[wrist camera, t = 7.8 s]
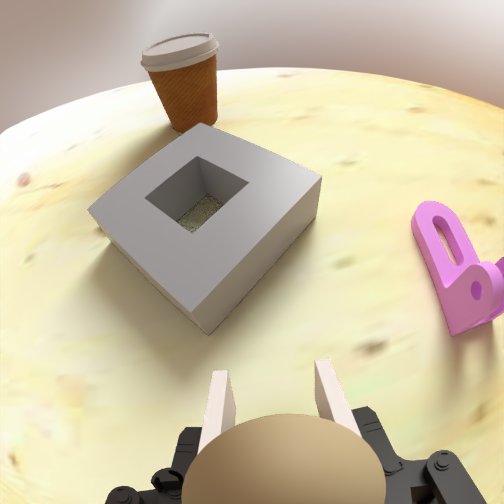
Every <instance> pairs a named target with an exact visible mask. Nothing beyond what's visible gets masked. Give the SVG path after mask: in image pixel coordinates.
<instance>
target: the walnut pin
mask: <svg viewBox="0 0 504 504" xmlns="http://www.w3.org/2000/svg"><path fill="white" fill-rule="evenodd" d="M385 497H386V481H385V474H384V471H383V468H382V465H381V463H380V461H379V459H378V457H377V455H376V453H375V452H374V451H373V449H372V448H371V447H370V445H369V444H368V443H367V442H365V441H364V440H363V439H362V438H361V437H360V436H359V435H357V434H356V433H355V432H353V431H352V430H350V429H348V428H346V427H344V426H343V425H341V424H338V423H336V422H333V421H331V420H327V419H323V418H320V417H315V416H309V415H300V414H278V415H271V416H264V417H261V418H257V419H253V420H250V421H247V422H244V423H242V424H239V425H236V426H234V427H232V428H230V429H229V430H227V431H225V432H223V433H222V434H220V435H219V436H217V437H216V438H214V439H213V440H212V441H211V442H209V443H208V444H207V445H206V446H205V447H204V448H203V449H202V450H201V451H200V452H199V454H198V455H197V456H196V457H195V459H194V460H193V462H192V463H191V465H190V467H189V469H188V471H187V473H186V475H185V479H184V482H183V486H182V495H181V498H182V504H384V502H385Z"/></svg>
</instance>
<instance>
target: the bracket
mask: <svg viewBox="0 0 504 504" xmlns="http://www.w3.org/2000/svg"><path fill="white" fill-rule="evenodd" d="M433 223H434V224H437V225H438V226H439V227H440V228H441V229H442V231H443V233H444V235H445V237H446V239H447V241H448V243H449V246H450V248H451V250H452V252H453V254H454V257H455V259H456V261H457V264H458V265H455V264H453V263H452V262H451V260H450V259H449V257H448V254H447V252H446V250H445V248H444V245H443V243H442V241H441V239H440V237H439V235H438V233H437V230H436V228H435V226H434V224H433ZM411 227H412V231H413V234H414V236H415V238H416V241H417V243H418V245H419V247H420V250H421V252H422V255H423V257H424V259H425V262H426V264H427V267H428V269H429V272H430V275H431V277H432V280H433V283H434V285H435V288H436V291H437V294H438V296H439V299H440V302H441V305H442V308H443V311H444V315H445V318H446V321H447V324H448V328H449V331H450V334H451V336H454V335H457V334H459V333H462V332H465V331H467V330H470V329H472V328H475V327H477V326H480V325H482V324H484V323H487V322H489V321H491V320H493V319H495V318H496V317H498V316H499V315H501V314H502V313H504V257H502V258H501V259H500V260H499V261H498V262H497V263H496V264H493V263H492V262H488V261H485V262H481V263H480V261H479V259H478V257H477V255H476V252H475V250H474V248H473V246H472V244H471V242H470V240H469V238H468V236H467V234H466V232H465V230H464V228H463V226H462V224H461V222H460V220H459V219H458V217H457V216H456V214H455V213H454V212H453V211H452V210H451V209H449V208H448V207H447V206H445V205H443V204H441V203H439V202H435V201H425V202H423V203H421V204H420V205H419V206H418V207H417V209H416V211H415V213H414V215H413V217H412V220H411Z"/></svg>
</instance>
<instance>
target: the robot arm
mask: <svg viewBox="0 0 504 504" xmlns="http://www.w3.org/2000/svg"><path fill="white" fill-rule="evenodd" d="M315 401H316V405H317V408H318V412H319V416H320V418H323V419H327V420H331V421H333V422H336V423H338V424H341V425H343V426H344V427H346V428H348V429H350V430H352V431H353V432H355V433H356V434H357V435H359V436H360V437H361V438H362V439H363V440H364V441H365V442H367V443H368V444H369V445H370V447H371V448H372V449H373V451H374V452H375V453H376V455H377V457H378V459H379V461H380V463H381V465H382V468H383V471H384V474H385V481H386V497H385V502H384V504H487V503H486V501H485V500H484V498H483V496H482V495H481V493H480V492H479V490H478V488H477V487H476V485H475V484H474V482H473V480H472V479H471V477H470V476H469V474H468V473H467V471H466V470H465V468H464V467H463V465H462V464H461V462H460V460H459V459H458V457H457V456H456V455H455V454H454V453H453V452H450V451H448V450H440V451H437V452H435V453H433V454H432V455H431V456H430V457H429V459H425V460H415V461H409V460H404V459H402V458H401V457H399V456H397V455H396V453H395V452H394V450H393V448H392V446H391V444H390V442H389V439H388V437H387V435H386V433H385V431H384V429H383V427H382V425H381V423H380V422H379V419H378V417H377V415H376V413H375V412H374V411H373V410H372V409H370V408H369V407H368V406H366V407H362V408H358V409H353V410H351V409H350V406H349V404H348V402H347V399H346V397H345V394H344V392H343V389H342V387H341V385H340V382H339V380H338V377H337V375H336V373H335V370H334V368H333V365H332V363H331V361H330V358H324V359H318V360H315ZM235 415H236V405H235V401H234V396H233V392H232V387H231V382H230V378H229V373H228V370H219V371H213V374H212V379H211V384H210V390H209V395H208V400H207V405H206V411H205V416H204V421H203V427H186V428H185V429H184V430H183V431H182V433H181V434H180V435H179V439H178V443H177V447H176V450H175V451H176V452H175V454H174V458H173V462H172V466H171V468H165V469H161V470H159V471H157V472H156V473H155V474H154V475H153V476H152V479H151V483H152V485H153V486H154V487H155V489H153V490H147V491H138V492H137V491H136V490H135V489H134V488H131V487H129V486H120V487H116V488H115V489H113V490H112V491H111V492H110V493H109V495H108V497H107V500H106V502H105V504H182V498H181V495H182V486H183V482H184V479H185V475H186V473H187V471H188V469H189V467H190V465H191V463H192V462H193V460H194V459H195V457H196V456H197V455H198V454H199V452H200V451H201V450H202V449H203V448H204V447H205V446H206V445H207V444H208V443H209V442H211V441H212V440H213V439H214V438H216V437H217V436H219V435H220V434H222V433H223V432H225V431H227V430H229V429H230V428H232V427H234V426H235Z"/></svg>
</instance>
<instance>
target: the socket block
mask: <svg viewBox="0 0 504 504" xmlns="http://www.w3.org/2000/svg"><path fill="white" fill-rule="evenodd" d="M321 180H322V176H321V175H319V174H317V173H315V172H313V171H311V170H309V169H307V168H305V167H303V166H301V165H299V164H297V163H295V162H293V161H291V160H288V159H286V158H284V157H282V156H280V155H278V154H275V153H273V152H271V151H269V150H267V149H264V148H262V147H260V146H257V145H255V144H253V143H250V142H248V141H246V140H243V139H241V138H238V137H236V136H234V135H231V134H229V133H226V132H224V131H221V130H219V129H216V128H213V127H211V126H208V125H206V124H203V123H199V124H197V125H196V126H194V127H193V128H191V129H190V130H188V131H187V132H185V133H184V134H182V135H181V136H179V137H178V138H176V139H175V140H173V141H172V142H171V143H169V144H168V145H166V146H165V147H164V148H162V149H161V150H159V151H158V152H157V153H155V154H154V155H153V156H151V157H150V158H149V159H147V160H146V161H145V162H143V163H142V164H141V165H139V166H138V167H137V168H136V169H134V170H133V171H132V172H130V173H129V174H128V175H127V176H125V177H124V178H123V179H122V180H121V181H119V182H118V183H117V184H116V185H114V186H113V187H112V188H111V189H110V190H109V191H107V192H106V193H105V194H104V195H103V196H102V197H100V198H99V199H98V200H97V201H96V202H95V203H94V204H93V205H91V206H90V207H89V208H88V209H87V210H88V211H89V213H90V214H91V215H92V217H93V218H94V220H95V221H96V222H97V224H98V225H99V226H100V228H101V229H102V230H103V232H104V233H105V234H106V236H107V237H108V238H109V240H110V241H111V242H112V243H113V244H114V245H115V246H116V247H117V249H118V250H119V251H120V252H121V253H122V254H123V255H124V256H125V257H126V258H127V259H128V260H129V261H130V262H131V263H132V264H133V265H134V266H135V267H136V268H137V269H138V270H139V271H140V272H141V273H142V274H143V275H144V276H145V277H146V278H147V279H148V280H149V281H150V282H151V283H152V284H153V285H154V286H155V287H156V288H157V289H158V290H159V291H160V292H161V293H162V294H163V295H164V296H165V297H166V298H167V299H169V300H170V301H171V302H172V303H173V304H174V305H175V306H176V307H177V308H178V309H179V310H180V311H181V312H183V313H184V314H185V315H186V316H187V317H188V318H189V319H190V320H191V321H192V322H194V323H195V324H196V325H197V326H198V327H199V328H200V329H201V330H203V331H204V332H205V333H206V334H207V335H208V336H209V335H210V334H211V333H212V332H213V331H214V330H215V329H216V328H217V326H218V325H219V324H220V323H221V322H222V321H223V320H224V319H225V318H226V317H227V316H228V315H229V313H230V312H231V311H232V310H233V309H234V308H235V307H236V306H237V305H238V304H239V302H240V301H241V300H242V299H243V298H244V297H245V296H246V295H247V294H248V293H249V291H250V290H251V289H252V288H253V287H254V286H255V285H256V284H257V283H258V281H259V280H260V279H261V278H262V277H263V276H264V275H265V274H266V273H267V271H268V270H269V269H270V268H271V267H272V266H273V265H274V264H275V262H276V261H277V260H278V259H279V258H280V257H281V256H282V255H283V253H284V252H285V251H286V250H287V249H288V248H289V247H290V246H291V244H292V243H293V242H294V241H295V240H296V239H297V238H298V236H299V235H300V234H301V233H302V232H303V231H304V230H305V228H306V227H307V226H308V225H309V224H310V223H311V221H312V220H313V219H314V218H315V217H316V214H317V208H318V201H319V194H320V187H321ZM207 194H208V195H210V196H211V197H213V198H215V199H216V200H218V201H220V202H221V203H223V204H225V205H224V206H222V207H221V208H220V209H219V210H218V211H217V212H216V213H215V214H214V215H213V216H211V217H210V218H209V219H208V220H207V221H206V222H205V223H204V224H203V225H202V226H201V227H199V228H198V229H197V230H196V231H195V232H194V233H193V234H192V233H190V232H189V231H188V230H186V229H185V228H184V227H182V226H181V225H180V224H178V223H177V221H178V220H179V219H180V218H181V217H182V216H183V215H184V214H185V213H187V212H188V211H189V210H190V209H191V208H192V207H193V206H195V205H196V204H197V203H198V202H199V201H200V200H201V199H203V198H204V197H205V196H206V195H207Z"/></svg>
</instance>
